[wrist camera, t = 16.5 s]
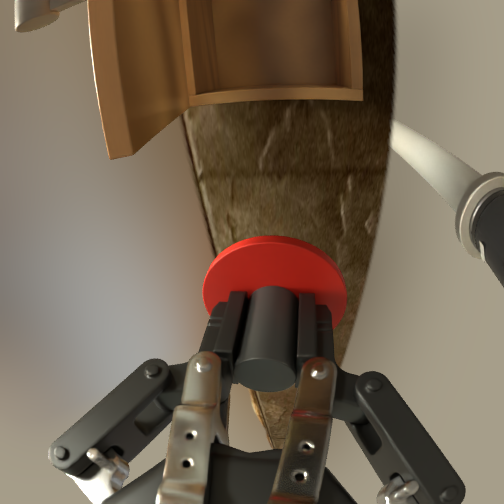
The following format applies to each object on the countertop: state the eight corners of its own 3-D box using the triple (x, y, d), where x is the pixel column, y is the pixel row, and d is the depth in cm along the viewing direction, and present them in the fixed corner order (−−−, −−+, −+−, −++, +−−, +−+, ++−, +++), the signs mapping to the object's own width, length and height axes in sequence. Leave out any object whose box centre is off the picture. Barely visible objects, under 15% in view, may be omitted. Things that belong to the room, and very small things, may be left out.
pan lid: (334, 220, 12) (348, 299, 8) (351, 332, 15) (358, 407, 11) (183, 250, 14) (144, 324, 10) (232, 346, 17) (216, 415, 13)
